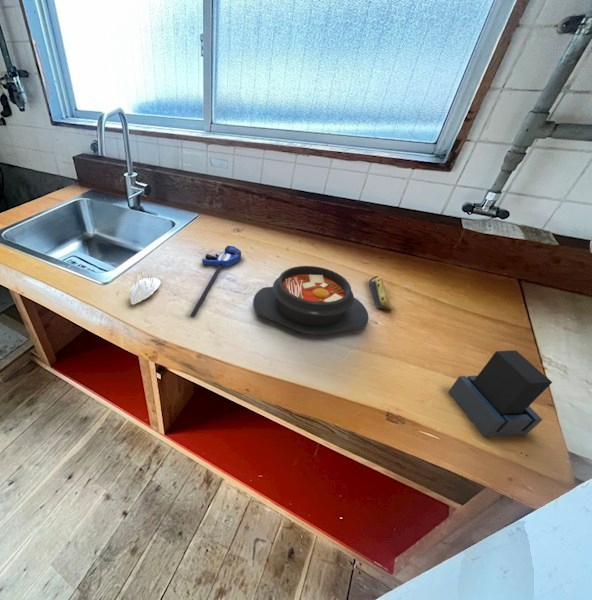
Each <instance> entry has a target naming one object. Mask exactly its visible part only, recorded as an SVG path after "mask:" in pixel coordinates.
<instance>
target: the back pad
mask: <svg viewBox="0 0 592 600" xmlns="http://www.w3.org/2000/svg"><path fill="white" fill-rule="evenodd" d="M477 375H478V376H477ZM477 375H476V376H477V377H476V378H475V380H474V381H473V382H472V384H473V385H474V386H475V388H476V389H477V390H478V391H479V392H480V393H481V394H482V395H483V396H484V398H485V399H486V400H487V401H488V402H489V403H490V404H491V405H492V407H493V408H494V409H495V410H496V411H497V412H498V413H499V414H500V416H501V417H503V416H504V415H520V414H521V413H522V412H523V411H524V410H525V409H526V408H527V407H528V406H529V407H530V406H531V404H533V402H535V401H536V400H537V398H539V396H540V395H541V394H543V393H544V391H546V389H547V388H549V386H551V384H552V383H553V381H551V379H549V377H547V376H546V375H545V374H543V373H542V371H540V370H539V369H538V367H536V366H535V365H533V364H532V363H531V362H530V361H529V360H528V359H526V358H525V357H524V356H523V355H522V354H521V353H520V352H519V351H517V350H498V351H497V350H496V351H495V352H494V353H493V354H492V356H491V358H489V360H488V361H487V363H486V364H485V365H484V366H483V368H482V369H481V371H480V372H479V373H478V374H477Z"/></svg>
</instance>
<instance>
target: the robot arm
mask: <svg viewBox="0 0 592 600" xmlns="http://www.w3.org/2000/svg"><path fill="white" fill-rule="evenodd" d="M589 251H590V253H591V254H592V239H591V240H590V242H589Z"/></svg>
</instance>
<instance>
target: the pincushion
mask: <svg viewBox="0 0 592 600" xmlns="http://www.w3.org/2000/svg"><path fill="white" fill-rule="evenodd" d="M140 273H141V274H143V273H142V271H141V272H140ZM152 275H153V274H152V273H151V274H150V276H152ZM147 276H148V277H147V278H144V277H141V278H142V279H141V280H138V277H137V276H135V277H133V278H134V280H137V281H136V282H135V283H134V284H133V286H132V287H131V289H130V291H129V300H130V304H131V305H133V306H135V305H136V304H137V303H138V304H139V303H141V302H142V301H143V300H147V299H148V298H149V297H150V296H151V295H153V294H154V292H155V291H156V290H158V288H159V286H161V284H162V282H161V280H160V278H157V277H150V276H149V275H147Z"/></svg>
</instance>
